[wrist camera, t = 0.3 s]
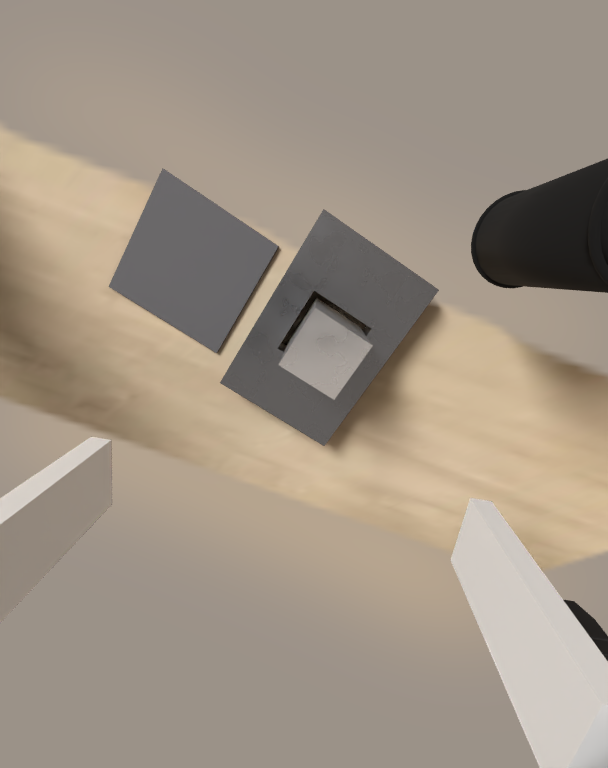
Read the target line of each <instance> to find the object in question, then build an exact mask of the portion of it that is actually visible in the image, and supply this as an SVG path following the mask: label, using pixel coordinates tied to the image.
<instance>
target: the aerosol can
mask: <svg viewBox="0 0 608 768" xmlns="http://www.w3.org/2000/svg"><path fill="white" fill-rule="evenodd" d="M471 253H472V258H473V262H474V264H475V266H476V268H477V270H478V272H479V273H480V274H481V275H482V277H484V278H485V279H486V280H487V281H488V282H490V283H492V284H494V285H496V286H499V287H503V288H518V287H523V286H527V287H541V288H554V289H568V290H581V291H594V292H607V293H608V159H606V160H603V161H600V162H598V163H596V164H593V165H590V166H588V167H585V168H582V169H580V170H577V171H575V172H572V173H570V174H567V175H565V176H562V177H559V178H557V179H554V180H552V181H549V182H547V183H544V184H542V185H539V186H537V187H534V188H531V189H529V190H522V191H516V192H513V193H510V194H507V195H505V196H503V197H501V198H500V199H498V200H496V201H495V202H494V203H493V204H492V205H491V206H489V207H488V208H487V209H486V211H485V212H484V213H483V214H482V216H481V217H480V219H479V221H478V223H477V224H476V227H475V230H474V232H473V236H472V242H471Z"/></svg>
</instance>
